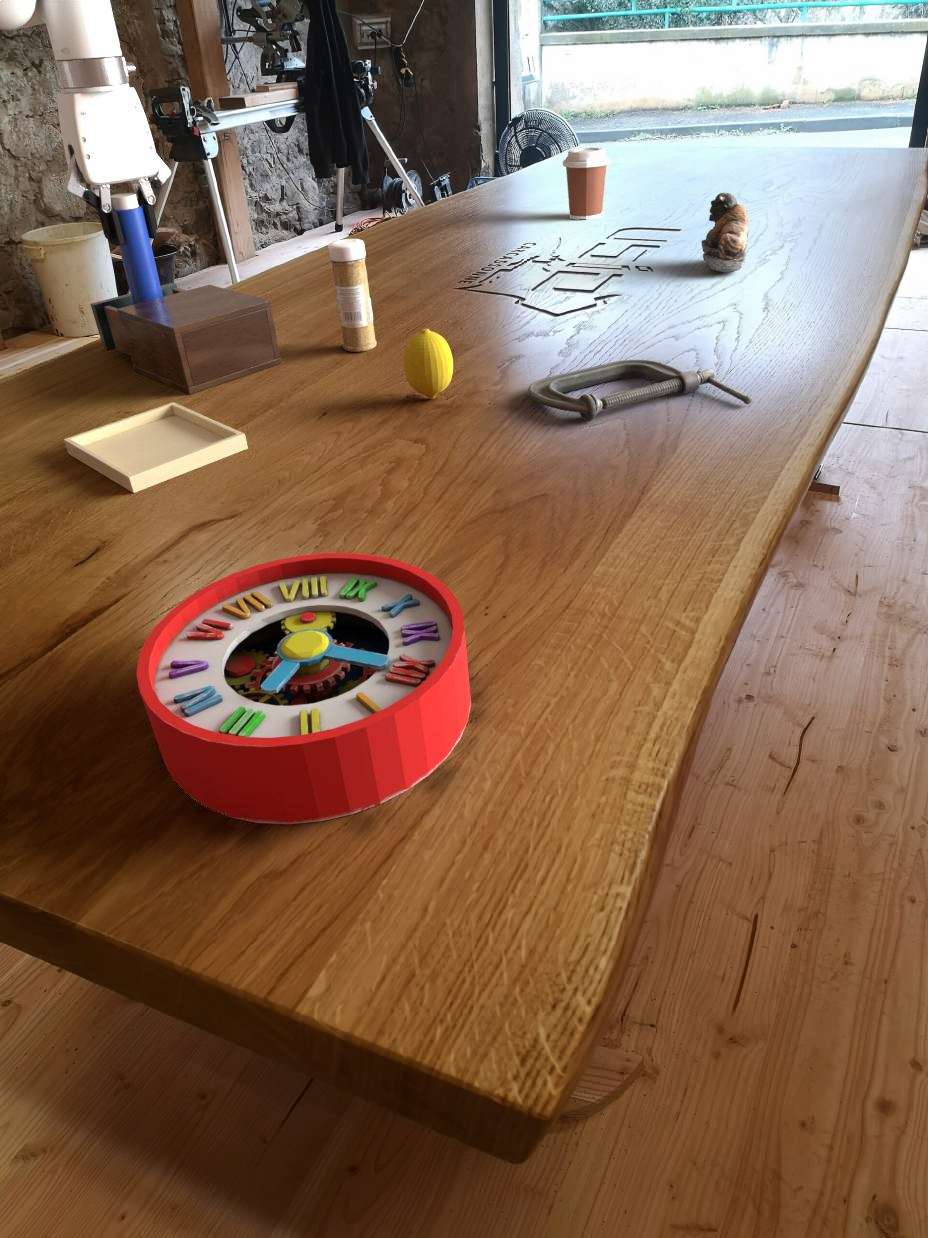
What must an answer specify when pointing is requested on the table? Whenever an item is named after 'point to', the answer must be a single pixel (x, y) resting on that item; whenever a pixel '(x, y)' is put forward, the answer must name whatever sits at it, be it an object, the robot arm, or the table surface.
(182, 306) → the cabinet
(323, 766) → the toy clock
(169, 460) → the tray
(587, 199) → the coffee cup
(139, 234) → the water bottle
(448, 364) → the lemon
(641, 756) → the table surface
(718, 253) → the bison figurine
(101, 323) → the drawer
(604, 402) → the c clamp
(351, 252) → the sprinkles bottle
